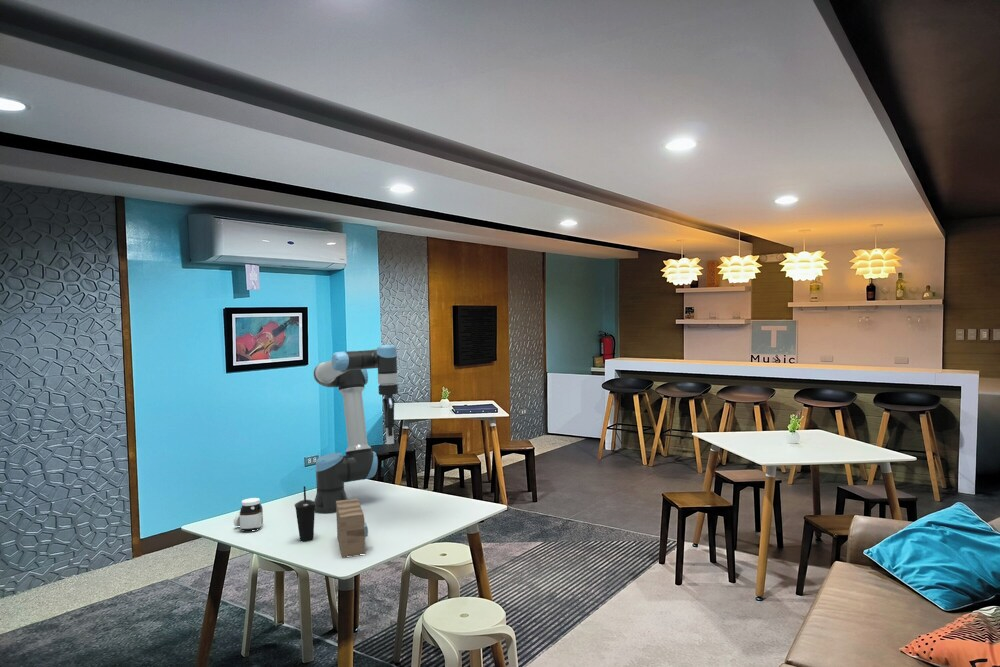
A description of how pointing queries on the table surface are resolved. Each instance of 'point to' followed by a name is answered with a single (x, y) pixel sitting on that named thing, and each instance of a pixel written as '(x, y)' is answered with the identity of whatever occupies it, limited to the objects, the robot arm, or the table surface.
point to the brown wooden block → (350, 527)
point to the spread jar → (250, 515)
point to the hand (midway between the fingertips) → (390, 443)
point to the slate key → (365, 529)
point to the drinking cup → (305, 518)
